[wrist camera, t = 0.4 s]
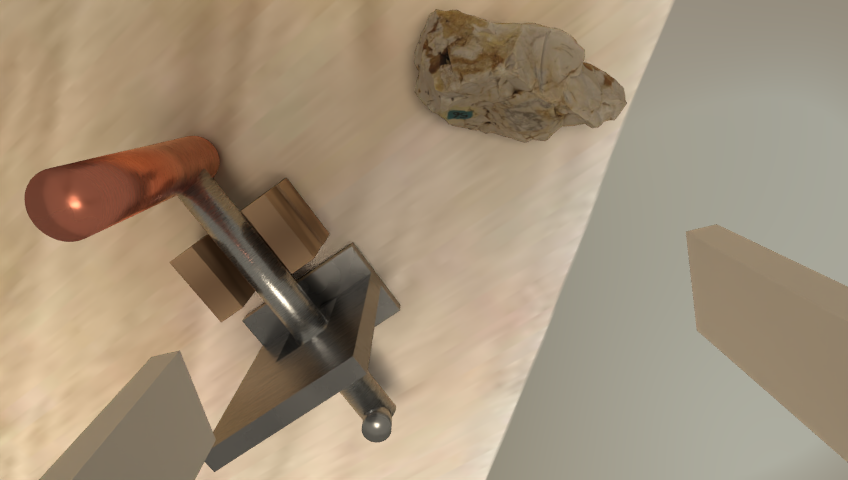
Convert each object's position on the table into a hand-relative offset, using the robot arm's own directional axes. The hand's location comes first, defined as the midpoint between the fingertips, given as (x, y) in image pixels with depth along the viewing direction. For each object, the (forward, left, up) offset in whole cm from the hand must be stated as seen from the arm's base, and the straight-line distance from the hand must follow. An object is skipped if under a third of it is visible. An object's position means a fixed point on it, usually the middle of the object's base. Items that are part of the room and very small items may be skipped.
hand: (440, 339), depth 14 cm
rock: (-2, +8, -27) cm, 28 cm away
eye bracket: (+4, -12, -27) cm, 29 cm away
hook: (+1, -12, -26) cm, 28 cm away
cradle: (-3, -12, -27) cm, 29 cm away
